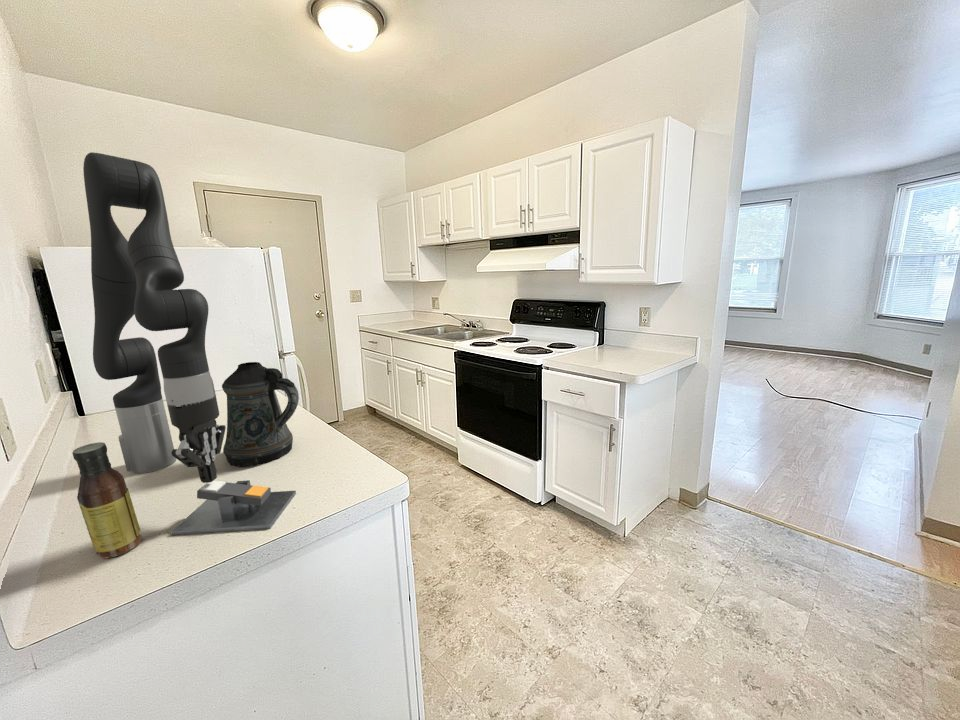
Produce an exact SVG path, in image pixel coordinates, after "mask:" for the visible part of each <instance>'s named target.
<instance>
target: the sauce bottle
mask: <svg viewBox="0 0 960 720" xmlns="http://www.w3.org/2000/svg"><path fill="white" fill-rule="evenodd" d="M71 453H72V456H73V460H75V461H76V464H77V466H78V469H79V475H80V479H79V483H78V485H79V486H78V490H77V495H76V496H77V497H76V498H77V502H78V505H79V509H80V510H81V514H82V518H83V520H84V523H85V526H86V529H87V532H88V535H89V538H90V540H91V545H92V546H93V549H94V551H95V552H96V555H97V556H98V557H99V558H104V559H108V558H110V559H111V558H115V557H118V556H121V555H124V554H126V553H128V552H130V551H131V550H132V549H134V548H135V547H137V546H138V545H139V544H140V542H141V541H142V535H141V528H140V524H139V520H138V518H137V513H136V511H135V507H134V504H133V501H132V496H131V494H130V490H129V488H128V487H127V484H126V481H125V480H126V479H125V478H124V476H123V474H122V473H120V471H119V470H116V469H114V468H113V467H112V463H111V462H110V459H109V456H108V447H107V444H106V443H105V442H102V441H101V442H100V441H99V442H93V443H89V444H85V445H82V446H79V447H76V448H75V449H74V450H73V451H72V452H71Z"/></svg>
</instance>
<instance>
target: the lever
mask: <svg viewBox="0 0 960 720" xmlns="http://www.w3.org/2000/svg"><path fill="white" fill-rule="evenodd" d="M271 489H272V488H271V487H269V486H262V485H255V484H254V485H252V484H250V485H244V484H236V482H227V481H220V480H214V481H212V482H209V483H204V485H203V486H201V487H200V488H199V489H198V490H197V491H196V494H197V495H196V499H201V500H216V501H218V499H219V498H220V497H229V496H234V501H235V503H241V504H249V505H258V506H261V505H262V504H263V503H264V501H265V500H266V499H267V498H268V497H269V496H270V492H272V491H271Z"/></svg>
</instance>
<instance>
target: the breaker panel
mask: <svg viewBox="0 0 960 720" xmlns="http://www.w3.org/2000/svg"><path fill="white" fill-rule="evenodd" d="M235 483H236V484H244V485H251V481H250V480H249V479H248V480H237V481H236V482H235ZM296 494H297V490H285V491H284V490H283V491H282V490H281V491H271V492H270V496H269V497H268V498H267V499H266V500H265V501H264V503H263V504H262V505H261V506H258V505H249V504H241V503H235V501H234V496H229V497H220V498H219V499H218V501H216V500H207V499H205V500H204V502H203V503H201V504H200V505H199V506H197V508H195V510H194V511H192V512H191V513H190V514H189V515H188V516H187V517H186V518H185V519H184V520H182V521H181V522H180V523H179V524H178V525H177V526H175V527H174V528H173V529H172V530H171V532H170V533H171V536H179V535H197V534H210V533H211V534H212V533H226V532H227V533H228V532H238V531H253V530H270V529H271V528H272V527H273V526H274V524H275V523H276V522H277V520H279V518H280V516H282V514H283V512H284V511H285V510H286V508H287V507H288V506H289V504H290V502H291V501H292V500H293V498H294V497H295V496H296Z"/></svg>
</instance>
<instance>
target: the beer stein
mask: <svg viewBox="0 0 960 720" xmlns="http://www.w3.org/2000/svg"><path fill="white" fill-rule="evenodd" d="M221 388H222V390H223V392H224V394H225V395H226V410H227V411H226V416H227V419H226V437H225V441H224V445H223V449H222V451H223V454H224V456H225V458H226V461H227V463H228V464H229V465H230V466H233V467H238V468H247V467H257V466H261V465H265V464H269V463H272V462H274V461H278V460H279V459H282V458H283V457H284V456H286V455H287V454H289V453H290V452H291V451H292V449H293V441H294V437H293V433H292V431H290V429H289V427H288V424H287V422H288V421H289V420H290V419H291V417H292V416H293V415H294V413H295V412H296V410H297V409H298V408H297V407H298V404H299V400H300V397H299V395H300V394H299V391H298V388H297V387H296V385H295V383H294V382H293V381H291V379H289V378H286V377H284V378H283V373H282V372H281V371H280V370H279V369H278V368H274V367H273V368H272V367H266V366H264V365H262V364H261V362H258V361H249V362H243V363H239V364H237V368H236V369H235V370H234V371H233V372H232V373H231V374H230V375H229V376H228V377H227V378H225V380H224V381H223V383H221ZM277 390H278V391H279V390H280V391H282V392H284V393H285V394H286V396H287V404H286V406H285V408H284V410H283V411H282V409H281V408H282V407H281V405H280V402H279V399H278V396H277V393H276V391H277Z"/></svg>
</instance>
